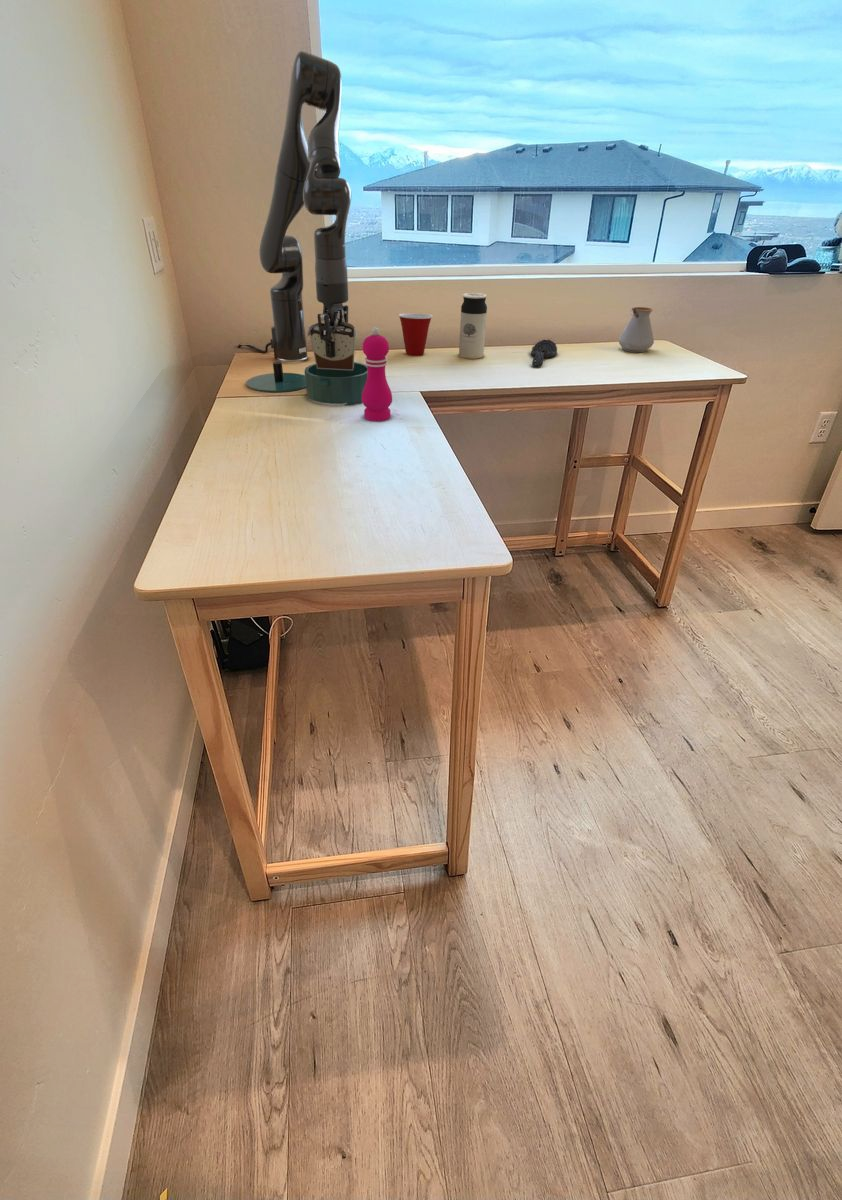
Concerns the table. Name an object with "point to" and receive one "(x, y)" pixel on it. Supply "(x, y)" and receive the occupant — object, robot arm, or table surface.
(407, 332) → the plastic cup
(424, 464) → the table surface
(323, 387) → the pot
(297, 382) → the pot lid
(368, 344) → the pepper mill
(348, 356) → the food container
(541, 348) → the hairbrush
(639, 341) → the coffee pot
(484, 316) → the travel mug
